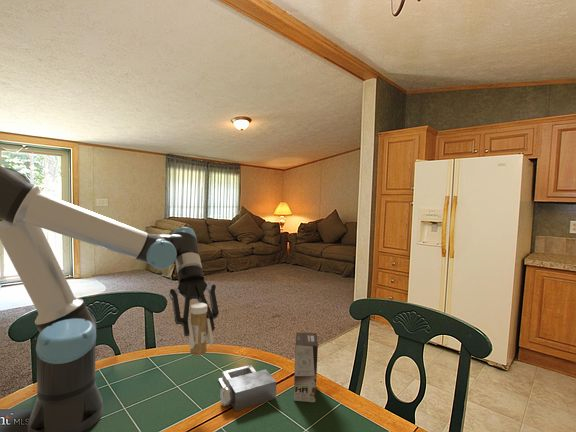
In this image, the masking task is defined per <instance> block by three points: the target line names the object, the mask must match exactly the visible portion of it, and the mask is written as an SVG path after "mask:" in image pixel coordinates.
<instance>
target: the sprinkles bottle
mask: <svg viewBox="0 0 576 432" xmlns="http://www.w3.org/2000/svg"><path fill="white" fill-rule="evenodd" d="M189 314H190V321H191V324H192V331H193V337H194V344H195V345H194V347H193V349H190V351H189V353H190V355H192V356H202V355H206V353H207V341H208V337H207V304H205V303H199V302H196V303H192V304H191V305H190V306H189Z"/></svg>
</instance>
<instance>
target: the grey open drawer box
mask: <svg viewBox="0 0 576 432" xmlns="http://www.w3.org/2000/svg"><path fill="white" fill-rule="evenodd" d="M221 372H222V373H221V377H220V378H218V379H217V381H218V383H219V385H220V387H221V388H220V391H219V396H220V402H221V405H222V407H226V406H230V405H231V406H232V408H233V411H234V412H237V411H241V410H244V409H247V408H250V407H253V406H257V405H260V404H263V403H266V402H270V401H273V400H276V399H277V380H276V379H275V378H274V377H273V376H272V374H271V373H270V372H269V371H268V370H267V369H262V370H259V371H256V369H255V368H254V367H253V366H252V364H248V365H244V366H240V367H236V368H232V369H228V370H224V371H221Z"/></svg>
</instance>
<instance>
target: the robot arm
mask: <svg viewBox="0 0 576 432" xmlns="http://www.w3.org/2000/svg"><path fill="white" fill-rule="evenodd" d="M43 229H44V230H46V231H50V232H53V233H57V234H59V235H63V236H66V237H68V238H70V239H71V238H72V239H75V240H78V241H81V242H83V243H87V244H90V245H93V246H96V247H99V248H102V249H105V250H107V251H111V252H113V253H117V254H119V255H123V256H126V257H128V258H132V259H134V260H137V261H140V262H142V263H146V264H149V265H150V266H151V267H153V268H155V269H158V270H159V269H161V270H162V269H167V268H168V267H169V268H170V267H171V266H172V265H173V264H174V263H175V267H176V273H177V281H178V282H177V283H178V286H177V288H171V289H170V290H169V295H168V296H169V298H170V299H171V301H172V309H173V317H174V318H173V319H174V324H175V325H177V326H178V325H181V326H182V328H183V336H184V337H188V342H189V343H188V345H189V349H190V350H191V349H193V347H194V345H195V344H194V337H193V331H192V324H191V320H190V321H189V314H190V306H191V305H190V303H191V300H193V299H194V300H197V301H198V302H197V303H205V304H207V343H208V346H212V345H213V343H214V342H215V341H214V335H213V332H214V331H215V328H216V327H215V322H214V320H215V319H217V318H218V316H219V315H220V314H219V307H218V302H217V296H216V287H217V286H216V285H215V284H212V285H209V284H207V282H206V281H205V276H204V272H203V265H202V262H201V261H202V260H201V257H200V256H201V255H200V252H199V245H198V239H197V235H196V233H195V230H194V229H193V228H191V227H188V226H182V227H178V228H175V230H173V231H172V233H171V234H161V233H160V234H158V233H157V234H155V233H153V234H151V233H148V232H147V231H143V230H140V229H137V228H135V227H133V226H130V225H127V224H125V223H122V222H119V221H116V220H115V219H112V218H110V217H107V216H104V215H101V214H98V213H96V212H94V211H91V210H88V209H86V208H83V207H81V206H78V205H75V204H73V203H70V202H67V201H65V200H63V199H60V198H57V197H55V196H53V195H49V194H46V193H44V192H42V191H41V190H40V188H39V186H38V185H36V184H33V183H31V182H30V180H29V179H28V178H27V177H26V175H24V174H22V173H21V172H20V171H18V170H16V169H13V168H10V167H4V166H1V165H0V243H1V244H2V245H3V248H4V250H5V252H6V254H7V256H8V258H9V260H10V261H11V263H12V265H13V267H14V269H15V271H16V272H17V275H18V277H19V279H20V280H21V283H22V284H23V286H24V288H25V290H26V292H27V294H28V297H29V298H30V300H31V302H32V304H33V305H34V308H35V310H36V312H37V313H38V314H37V316H36V318H35V320H34V324H35V325H36V327H37V329H38V332H39V334H38V336H37V339H36V345H35V352H36V390H37V393H36V395H37V398H36V400H35V402H34V406H33V408H32V411H31V412H30V416H29V419H28V422H27V432H86V431H87V430H89V429H90V428H92V427H93V426H94V425H95V424H97V423H98V421H100V419H101V417H102V416H103V414H104V401H103V397H102V395H101V392H100V391H99V388H98V386H97V383H96V340H97V329H98V328H97V326H98V325H97V324H98V323H97V320H96V318H95V316H94V314H93V313H92V312H91V311H90V310H89V309H88V307H87V305H86V303H85V301H84V299H82V298H79V297H75V295H74V293H73V291H72V289H71V286H70V285H69V283H68V281H67V278H66V276H65V274H64V272H63V270H62V268H61V266H60V263H59V262H58V260H57V257H56V255H55V254H54V252H53V250H52V248H51V245H50V243H49V240H48V239H47V237H46V235H45V233H44V231H43ZM205 291H207V294H209V296H208V297H209V301H210V302H209V303H210V305H209V303H208V301H207V299H206V297H205ZM179 294H180V295H181V296H183V298H184V304H183V305H184V306H183V314H182V317H181V311H180V304H179V298H178V297H179Z"/></svg>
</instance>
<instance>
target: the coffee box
mask: <svg viewBox="0 0 576 432" xmlns="http://www.w3.org/2000/svg"><path fill="white" fill-rule="evenodd" d="M294 346H295V349H294V375H293V376H294V377H293V378H294V379H293V401H295V402H307V403H315V402H316V396H317V395H316V394H317V375H318V353H319V351H318V348H319V341H318V335H317V333H316V332H298V331H297V332H296V335H295V345H294Z"/></svg>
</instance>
